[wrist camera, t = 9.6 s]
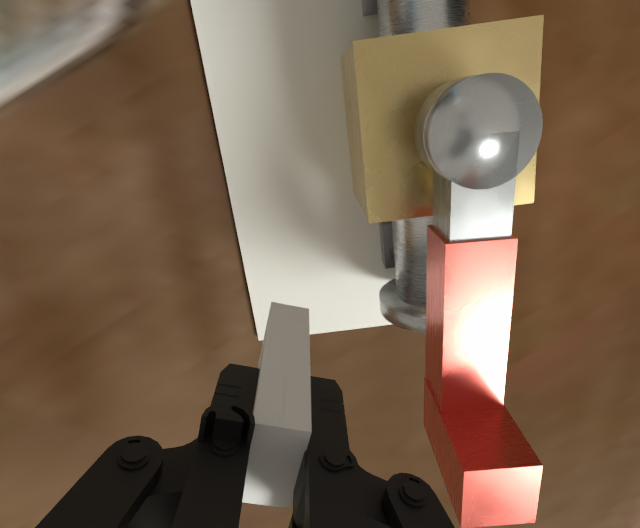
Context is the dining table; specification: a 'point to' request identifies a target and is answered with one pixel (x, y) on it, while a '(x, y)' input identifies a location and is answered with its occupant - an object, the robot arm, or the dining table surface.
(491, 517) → the lever
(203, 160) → the dining table surface
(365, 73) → the valve
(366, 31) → the board
